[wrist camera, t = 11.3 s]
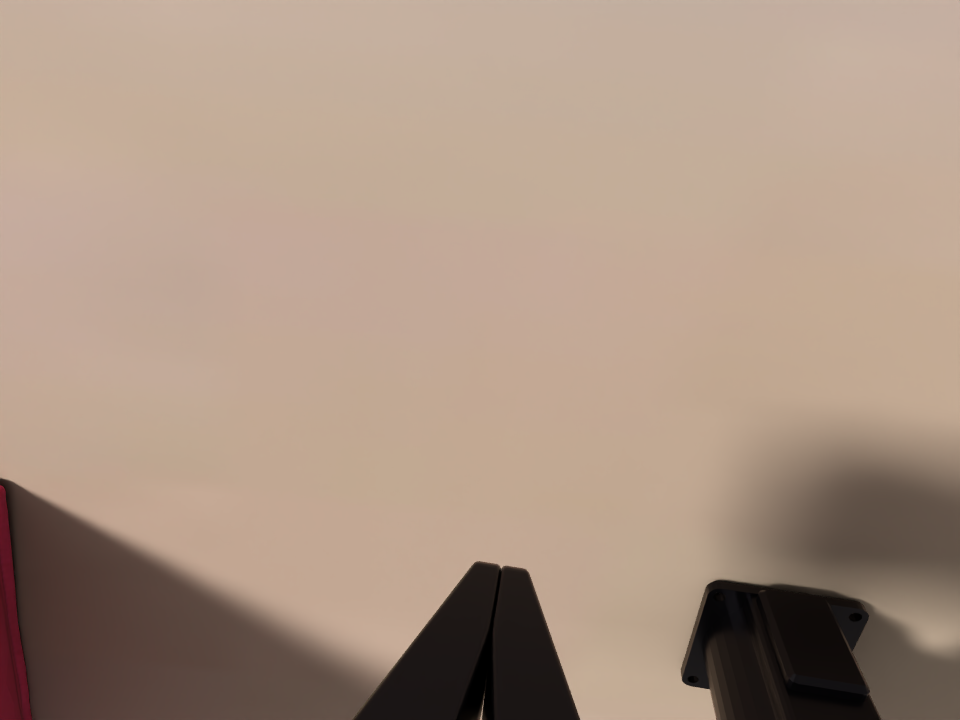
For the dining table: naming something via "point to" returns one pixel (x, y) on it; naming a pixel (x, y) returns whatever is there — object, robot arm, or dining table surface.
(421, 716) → the robot arm
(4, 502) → the storage bin
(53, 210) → the dining table surface
